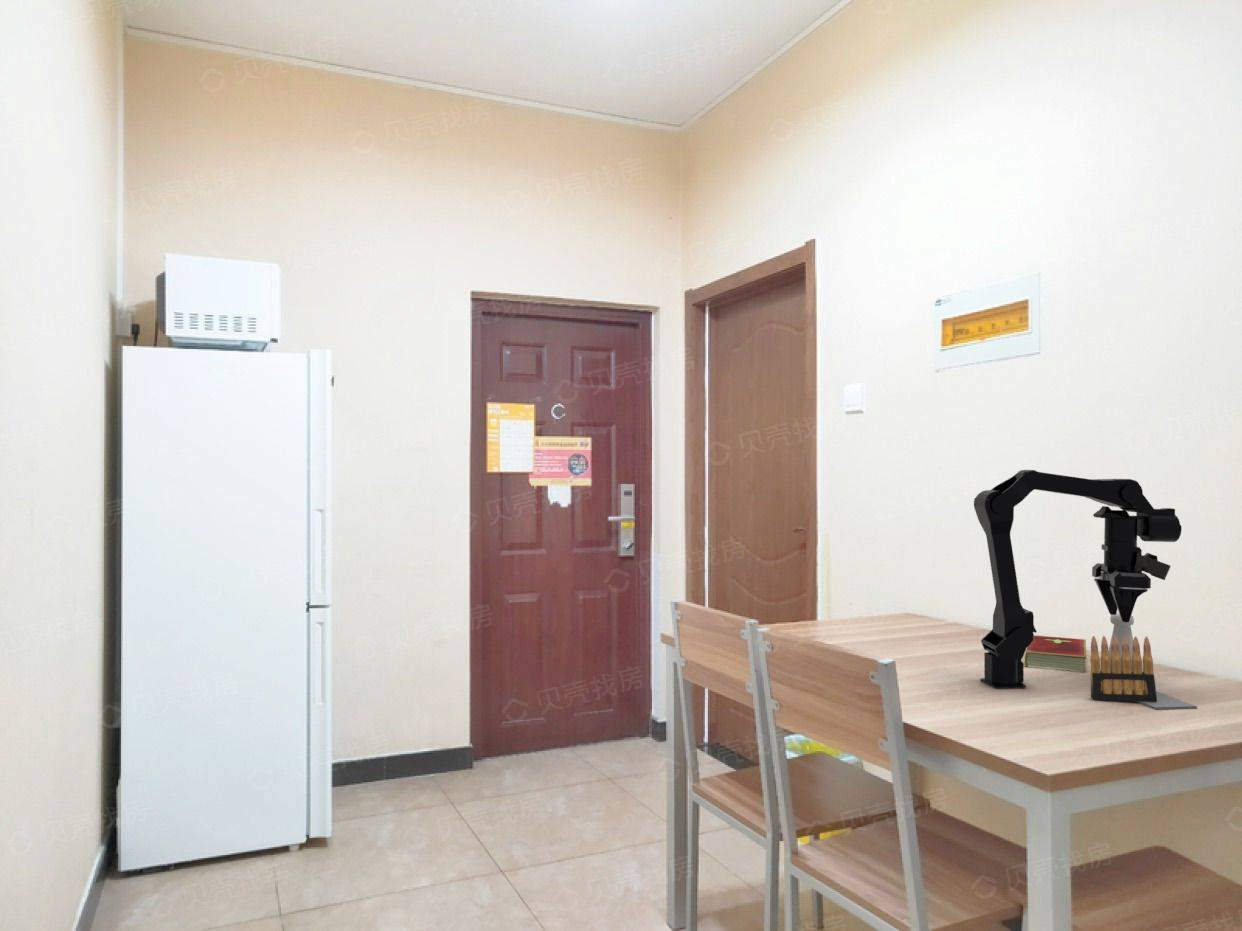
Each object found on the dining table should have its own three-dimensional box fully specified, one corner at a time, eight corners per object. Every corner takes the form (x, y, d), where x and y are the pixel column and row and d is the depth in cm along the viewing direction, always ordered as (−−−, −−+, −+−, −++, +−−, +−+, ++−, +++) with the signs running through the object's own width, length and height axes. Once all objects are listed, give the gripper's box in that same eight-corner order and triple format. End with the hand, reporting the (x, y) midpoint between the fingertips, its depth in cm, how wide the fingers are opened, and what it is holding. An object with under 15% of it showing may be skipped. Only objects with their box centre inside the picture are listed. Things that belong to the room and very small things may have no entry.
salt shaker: (1106, 675, 182) (1106, 614, 182) (1105, 669, 187) (1105, 610, 187) (1138, 678, 179) (1138, 616, 179) (1136, 672, 184) (1136, 612, 185)
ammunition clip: (1092, 699, 163) (1089, 636, 163) (1090, 697, 165) (1087, 634, 165) (1157, 701, 159) (1153, 637, 159) (1154, 699, 161) (1150, 635, 161)
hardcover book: (1024, 669, 190) (1024, 650, 190) (1029, 651, 209) (1029, 633, 209) (1086, 675, 185) (1086, 655, 185) (1085, 656, 203) (1085, 638, 203)
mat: (1155, 709, 156) (1155, 707, 156) (1112, 692, 168) (1112, 690, 168) (1197, 708, 157) (1197, 706, 157) (1150, 691, 169) (1150, 689, 169)
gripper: (1182, 546, 162) (1180, 629, 162) (1151, 539, 180) (1150, 613, 180) (1115, 544, 165) (1114, 625, 165) (1092, 536, 183) (1090, 610, 183)
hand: (1119, 618), depth 173 cm, fingers open, 9 cm apart
